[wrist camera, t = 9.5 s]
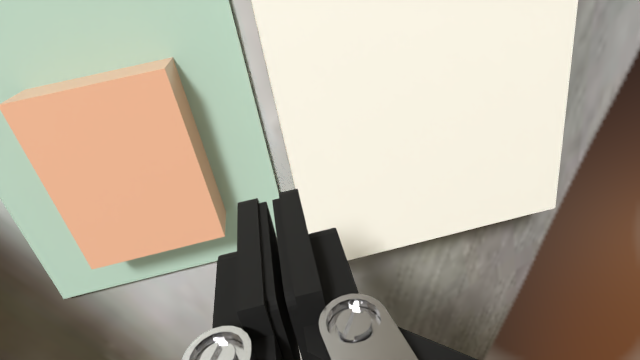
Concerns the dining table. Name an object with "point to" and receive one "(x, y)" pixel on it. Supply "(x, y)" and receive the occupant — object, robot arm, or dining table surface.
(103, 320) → the dining table surface
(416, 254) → the dining table surface
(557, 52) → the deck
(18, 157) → the mat
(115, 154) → the tile
